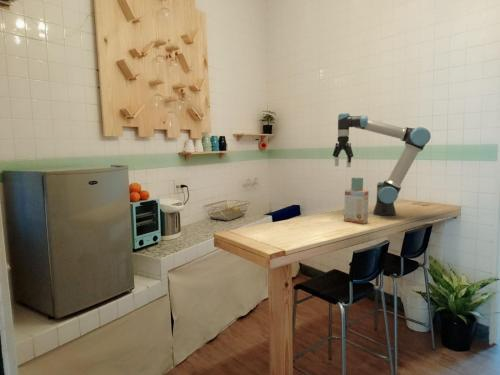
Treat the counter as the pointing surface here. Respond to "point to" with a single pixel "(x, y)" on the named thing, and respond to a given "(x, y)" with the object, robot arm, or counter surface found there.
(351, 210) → the cracker box
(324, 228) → the counter surface
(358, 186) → the teal block
